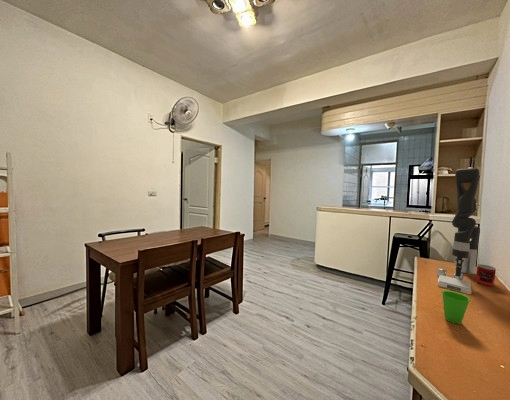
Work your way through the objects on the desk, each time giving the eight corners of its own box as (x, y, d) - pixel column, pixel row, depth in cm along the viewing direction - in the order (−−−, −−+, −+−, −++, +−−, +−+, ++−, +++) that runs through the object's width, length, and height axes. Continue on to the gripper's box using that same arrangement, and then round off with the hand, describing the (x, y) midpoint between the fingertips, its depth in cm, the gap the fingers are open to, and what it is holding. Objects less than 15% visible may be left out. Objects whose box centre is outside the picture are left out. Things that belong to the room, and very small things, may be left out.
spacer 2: (453, 278, 139) (454, 271, 139) (462, 281, 136) (463, 273, 136) (453, 280, 136) (454, 272, 136) (463, 283, 133) (463, 275, 133)
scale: (438, 279, 138) (439, 274, 137) (469, 286, 128) (470, 281, 128) (437, 285, 127) (437, 280, 127) (471, 294, 117) (471, 289, 117)
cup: (460, 317, 95) (462, 292, 94) (473, 329, 86) (476, 302, 85) (435, 312, 97) (437, 288, 97) (445, 324, 89) (447, 298, 88)
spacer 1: (437, 275, 145) (437, 267, 145) (445, 277, 142) (446, 269, 142) (436, 276, 142) (437, 269, 141) (445, 278, 139) (446, 271, 138)
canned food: (485, 281, 137) (487, 264, 137) (498, 287, 129) (500, 269, 129) (472, 280, 138) (473, 263, 137) (483, 286, 130) (485, 268, 129)
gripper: (452, 246, 143) (450, 270, 144) (452, 249, 133) (449, 275, 133) (468, 248, 138) (465, 273, 139) (469, 252, 128) (466, 279, 128)
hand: (457, 274), depth 136 cm, fingers open, 8 cm apart
